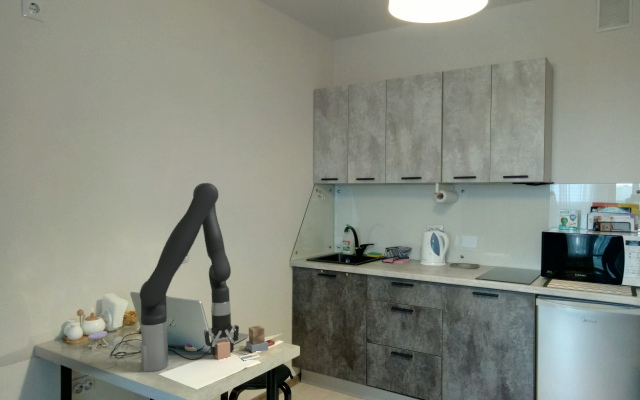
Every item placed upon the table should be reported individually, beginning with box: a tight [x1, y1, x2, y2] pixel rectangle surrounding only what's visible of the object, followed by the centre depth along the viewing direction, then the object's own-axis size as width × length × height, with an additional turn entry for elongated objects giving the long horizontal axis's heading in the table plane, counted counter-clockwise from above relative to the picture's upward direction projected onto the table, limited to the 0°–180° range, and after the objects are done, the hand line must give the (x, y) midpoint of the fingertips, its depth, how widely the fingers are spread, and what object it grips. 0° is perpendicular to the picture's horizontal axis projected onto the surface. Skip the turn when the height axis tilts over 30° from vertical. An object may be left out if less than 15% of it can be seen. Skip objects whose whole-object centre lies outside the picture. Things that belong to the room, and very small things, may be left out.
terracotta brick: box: [214, 338, 231, 361], centre depth 181 cm, size 5×5×6 cm
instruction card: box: [239, 353, 261, 362], centre depth 179 cm, size 7×5×1 cm
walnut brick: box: [248, 325, 266, 345], centre depth 188 cm, size 5×5×6 cm
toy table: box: [88, 330, 110, 349], centre depth 197 cm, size 10×9×6 cm
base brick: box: [245, 340, 269, 354], centre depth 188 cm, size 7×7×3 cm
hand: (222, 353), depth 181 cm, fingers open, 6 cm apart
